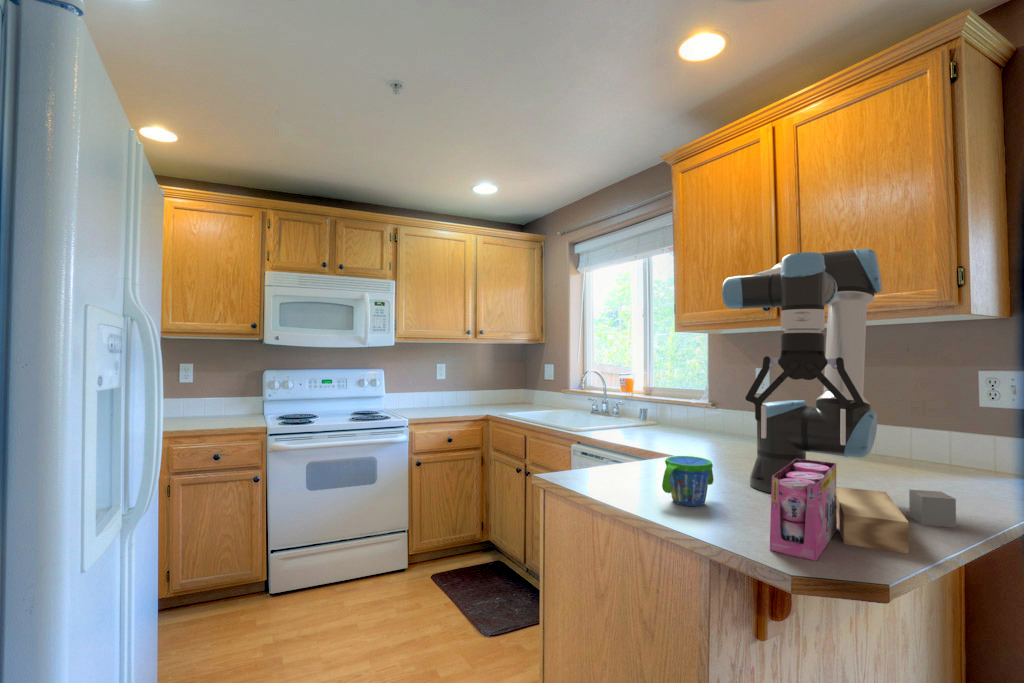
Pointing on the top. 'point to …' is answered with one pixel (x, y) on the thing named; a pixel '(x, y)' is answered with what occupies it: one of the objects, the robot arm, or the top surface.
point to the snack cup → (687, 479)
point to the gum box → (803, 508)
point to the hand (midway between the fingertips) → (802, 440)
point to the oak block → (871, 520)
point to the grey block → (932, 508)
